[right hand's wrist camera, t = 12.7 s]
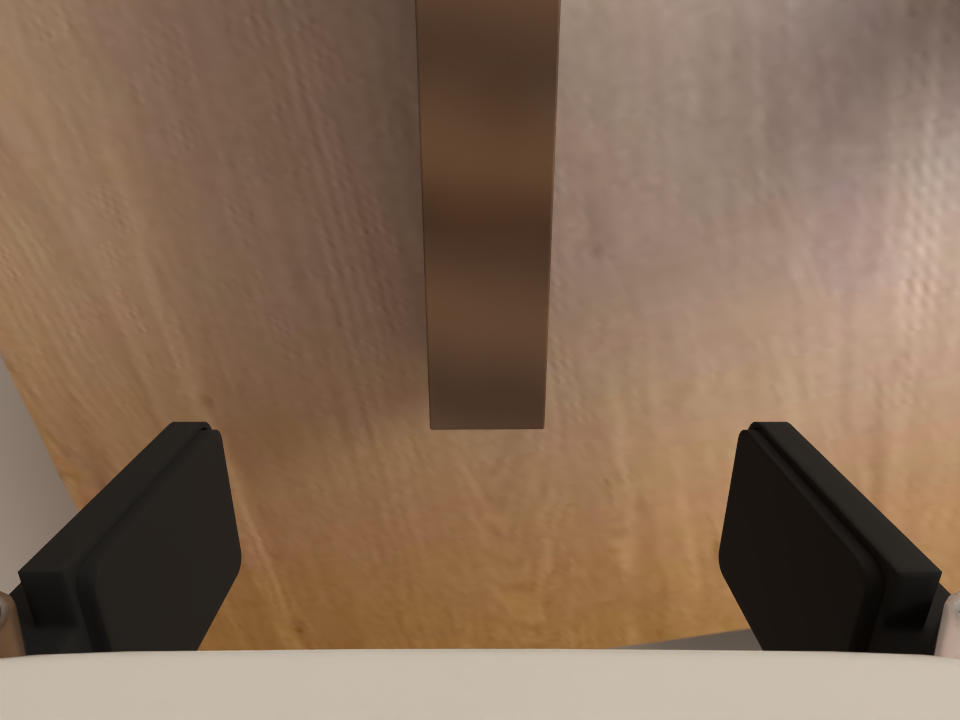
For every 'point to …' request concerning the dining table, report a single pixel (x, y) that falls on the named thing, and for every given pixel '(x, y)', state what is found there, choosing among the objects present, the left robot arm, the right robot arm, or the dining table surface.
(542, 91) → the beam
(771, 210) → the dining table surface
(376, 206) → the dining table surface
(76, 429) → the dining table surface
